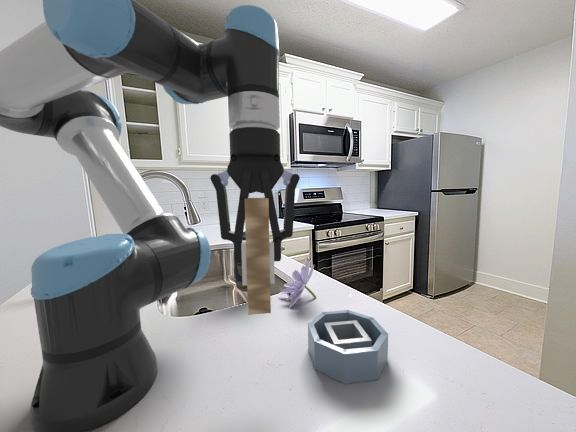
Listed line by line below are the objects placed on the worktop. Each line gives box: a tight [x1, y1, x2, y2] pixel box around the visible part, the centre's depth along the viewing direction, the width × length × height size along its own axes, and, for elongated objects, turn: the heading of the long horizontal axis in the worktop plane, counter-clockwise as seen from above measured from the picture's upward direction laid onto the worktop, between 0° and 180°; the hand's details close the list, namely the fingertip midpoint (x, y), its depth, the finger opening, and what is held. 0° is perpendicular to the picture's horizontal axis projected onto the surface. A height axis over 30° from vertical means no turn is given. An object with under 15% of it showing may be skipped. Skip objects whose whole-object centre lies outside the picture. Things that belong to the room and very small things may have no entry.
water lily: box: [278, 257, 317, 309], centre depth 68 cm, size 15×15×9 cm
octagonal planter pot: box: [307, 309, 389, 385], centre depth 44 cm, size 13×13×5 cm
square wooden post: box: [244, 196, 272, 316], centre depth 39 cm, size 4×4×18 cm
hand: (258, 281), depth 39 cm, fingers closed on square wooden post, 3 cm apart
